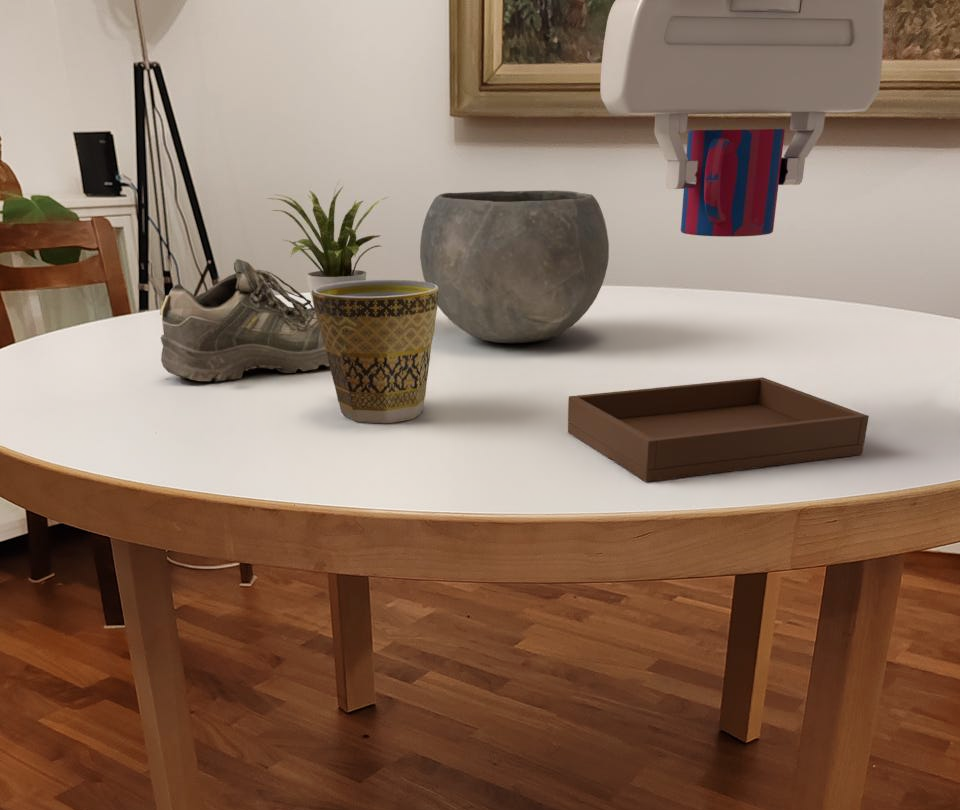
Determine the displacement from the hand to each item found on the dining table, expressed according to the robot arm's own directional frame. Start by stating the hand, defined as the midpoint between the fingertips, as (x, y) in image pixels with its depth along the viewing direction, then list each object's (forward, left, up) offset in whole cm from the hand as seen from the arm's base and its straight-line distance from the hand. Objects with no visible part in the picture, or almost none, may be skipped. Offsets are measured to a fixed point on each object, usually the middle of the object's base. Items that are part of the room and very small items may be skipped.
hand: (733, 186), depth 70 cm
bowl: (+2, -39, -17) cm, 43 cm away
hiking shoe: (+30, -34, -17) cm, 49 cm away
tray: (+3, +5, -17) cm, 18 cm away
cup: (+1, 0, -3) cm, 3 cm away
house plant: (+20, -55, -17) cm, 61 cm away
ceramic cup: (+24, -14, -17) cm, 33 cm away
